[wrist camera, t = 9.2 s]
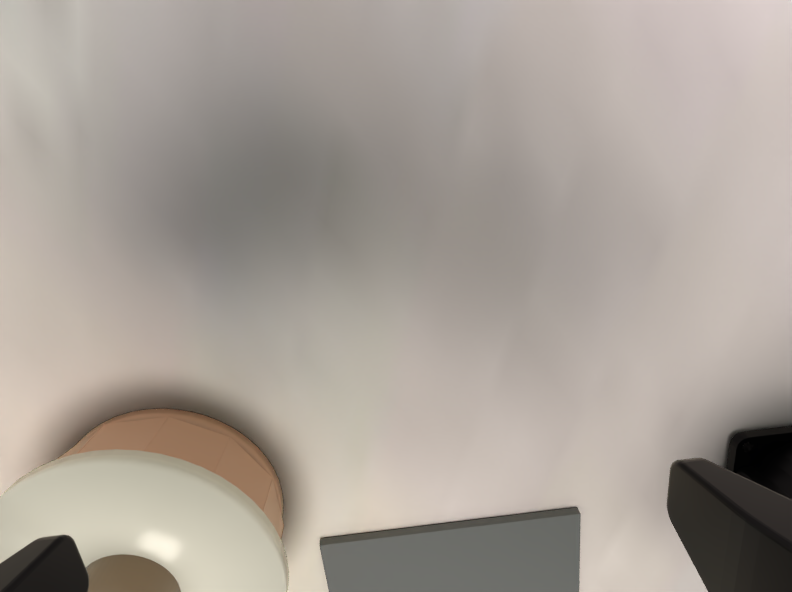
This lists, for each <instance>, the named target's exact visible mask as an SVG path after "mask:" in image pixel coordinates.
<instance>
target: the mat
mask: <svg viewBox="0 0 792 592" xmlns="http://www.w3.org/2000/svg"><path fill="white" fill-rule="evenodd" d="M320 550H321V555H322V560H323V565H324V570H325V575H326V579H327V584H328V589H329V592H579V561H580V512H579V510H578V508H577V507H576V508H568V509H559V510H551V511H543V512H535V513H527V514H518V515H510V516H502V517H494V518H486V519H477V520H469V521H461V522H453V523H444V524H436V525H428V526H420V527H412V528H403V529H395V530H387V531H379V532H371V533H362V534H354V535H346V536H338V537H330V538H321V539H320Z"/></svg>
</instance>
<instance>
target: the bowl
mask: <svg viewBox="0 0 792 592" xmlns="http://www.w3.org/2000/svg"><path fill="white" fill-rule="evenodd" d="M113 449H120V450H139V451H146V452H152V453H159V454H163V455H167V456H171V457H175V458H179V459H182V460H185V461H187V462H190V463H193V464H195V465H198V466H201V467H203V468H205V469H207V470H209V471H211V472H213V473H215V474H217V475H219V476H221V477H222V478H224V479H225V480H227V481H228V482H230V483H232V484H233V485H235V486H236V487H238V488H239V489H240V490H241V491H242V492H244V493H245V494H246V495H247V496H248V497H250V498H251V499H252V500H253V501H254V502H255V503H256V504H257V505H258V507H259V508H260V509H261V510H262V511H263V512H264V513H265V514H266V516H267V517H268V519H269V520H270V521H271V523H272V524H273V526H274V527H275V529H276V531H277V533H278V535H279V537H280V539H281V537H282V533H283V528H284V525H283V520H282V515H283V495H282V489H281V486H280V482H279V479H278V477H277V475H276V473H275V471H274V468H273V467H272V465H271V464H270V462H269V461H268V459H267V458H266V456H265V455H264V454H263V453H262V452H261V451H260V449H259V448H258V447H257V446H256V445H255V444H254V443H252V442H251V441H250V440H249V439H248V438H247V437H246V436H244V435H243V434H241V433H240V432H238V431H237V430H235V429H234V428H232V427H230V426H228V425H226V424H224V423H222V422H221V421H218V420H215V419H213V418H210V417H208V416H205V415H201V414H198V413H194V412H190V411H183V410H177V409H145V410H139V411H134V412H129V413H126V414H123V415H119V416H116V417H114V418H112V419H110V420H107V421H105V422H103V423H102V424H100V425H98V426H97V427H95V428H94V429H92V430H91V431H90V432H89V433H88V434H86V435H85V436H84V437H83V438H82V439H81V440H80V441H79V442H78V443H77V444H76V445H75V446H74V447H73V448H71V449H70V450H69V451H67V452H66V453H65V454H63V455H62V456H61V457H59V458H58V459H60V458H63V457H66V456H70V455H73V454H78V453H84V452H89V451H97V450H113Z"/></svg>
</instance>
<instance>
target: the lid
mask: <svg viewBox="0 0 792 592" xmlns="http://www.w3.org/2000/svg"><path fill="white" fill-rule="evenodd" d="M55 535H69V536H70V537H72V538H73V539H74V541H75V543H76V546H77V548H78V550H79V553H80V555H81V558H82V560H83V562H84V565H85V567H86V570H87V572H88V575H89V587H88V592H287V590H288V581H289V569H288V563H287V556H286V553H285V550H284V547H283V544H282V541H281V539H280V537H279V535H278V533H277V531H276V529H275V527H274V526H273V524H272V523H271V521H270V520H269V519H268V517H267V516H266V514H265V513H264V512H263V511H262V510H261V509H260V508H259V507H258V505H257V504H256V503H255V502H254V501H253V500H252V499H251V498H250V497H248V496H247V495H246V494H245V493H244V492H242V491H241V490H240V489H239V488H238V487H236V486H235V485H233V484H232V483H230V482H228V481H227V480H225V479H224V478H222V477H221V476H219V475H217V474H215V473H213V472H211V471H209V470H207V469H205V468H203V467H201V466H198V465H195V464H193V463H190V462H187V461H185V460H182V459H179V458H175V457H171V456H167V455H163V454H159V453H152V452H146V451H139V450H120V449H113V450H97V451H89V452H84V453H78V454H73V455H70V456H66V457H63V458H60V459H56V460H53V461H51V462H49V463H47V464H44V465H42V466H40V467H38V468H36V469H34V470H32V471H31V472H29V473H28V474H26V475H25V476H23V477H21V478H20V479H19V480H18V481H16V482H15V483H14V484H13V485H12V486H11V487H10V488H8V489H7V490H6V491H5V492H4V493H3V494H2V495H1V496H0V563H2V562H3V561H5V560H6V559H8V558H9V557H10V556H12V555H13V554H15V553H16V552H18V551H19V550H21V549H22V548H24V547H25V546H27V545H28V544H30V543H31V542H33V541H34V540H36V539H38V538H42V537H47V536H55Z"/></svg>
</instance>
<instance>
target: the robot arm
mask: <svg viewBox="0 0 792 592" xmlns="http://www.w3.org/2000/svg"><path fill="white" fill-rule="evenodd" d="M745 443H746V444H745ZM744 444H745V445H744ZM667 510H668V514H669V517H670V520H671V522H672V524H673V526H674V528H675V530H676V532H677V533H678V535H679V537H680V539H681V541H682V543H683V545H684V547H685V549H686V550H687V552H688V554H689V556H690V558H691V560H692V562H693V564H694V566H695V567H696V569H697V571H698V573H699V575H700V577H701V579H702V581H703V583H704V584H705V586H706V588H707V590H708V592H792V426H788V427H780V428H772V429H763V430H755V431H747V432H741V433H738V434H736V435H735V436H734V437H733V438H732V439H731V442H730V447H729V454H728V461H727V469H725V468H723V467H721V466H719V465H717V464H715V463H712V462H710V461H708V460H706V459H703V458H692V459H683V460H677V461H675V462H673V463H672V465H671V468H670V476H669V487H668V497H667ZM88 587H89V575H88V572H87V570H86V567H85V565H84V562H83V560H82V558H81V555H80V553H79V550H78V548H77V546H76V543H75V541H74V539H73V538H72V537H70V536H69V535H55V536H47V537H42V538H38V539H36V540H34V541H33V542H31V543H30V544H28V545H27V546H25V547H24V548H22V549H21V550H19V551H18V552H16V553H15V554H13V555H12V556H10V557H9V558H8V559H6V560H5V561H3V562H2V563H0V592H88Z"/></svg>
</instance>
